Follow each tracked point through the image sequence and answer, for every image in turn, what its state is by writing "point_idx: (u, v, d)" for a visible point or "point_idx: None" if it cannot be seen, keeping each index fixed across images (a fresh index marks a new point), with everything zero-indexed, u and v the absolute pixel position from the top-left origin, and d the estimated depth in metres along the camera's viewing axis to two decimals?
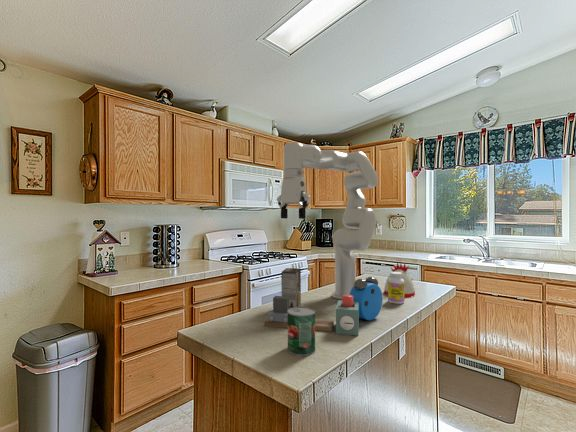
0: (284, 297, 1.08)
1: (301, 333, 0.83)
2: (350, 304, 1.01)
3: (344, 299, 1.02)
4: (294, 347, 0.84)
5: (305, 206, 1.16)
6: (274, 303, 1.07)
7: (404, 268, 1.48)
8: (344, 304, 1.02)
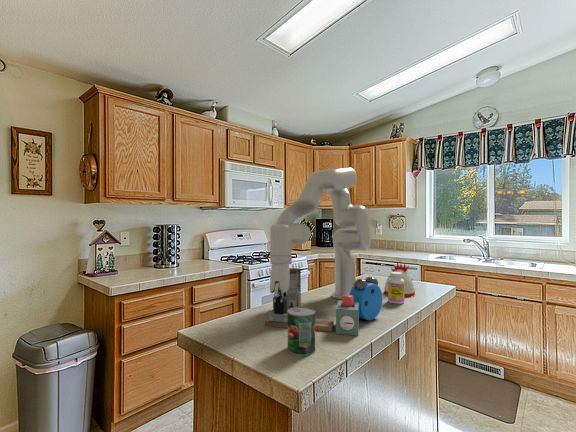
0: (284, 297, 1.08)
1: (301, 333, 0.83)
2: (350, 304, 1.01)
3: (344, 299, 1.02)
4: (294, 347, 0.84)
5: None
6: None
7: (404, 268, 1.48)
8: (344, 304, 1.02)
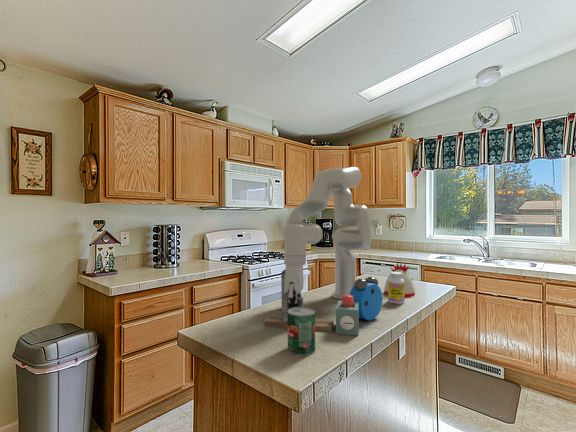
0: (298, 298, 1.07)
1: (301, 333, 0.83)
2: (350, 304, 1.01)
3: (344, 299, 1.02)
4: (294, 347, 0.84)
5: None
6: (288, 304, 1.06)
7: (404, 268, 1.48)
8: (344, 304, 1.02)
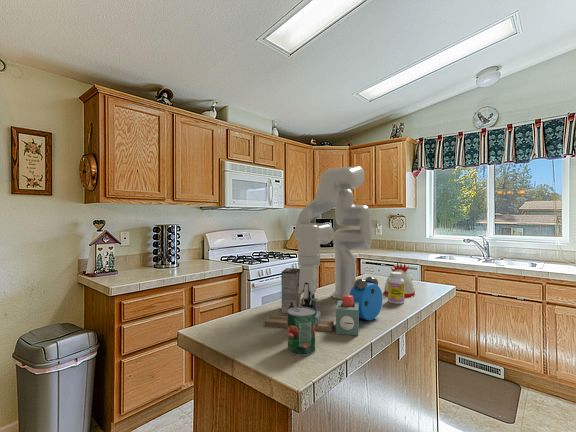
0: (312, 299, 1.06)
1: (301, 333, 0.83)
2: (350, 304, 1.01)
3: (344, 299, 1.02)
4: (294, 347, 0.84)
5: None
6: (302, 305, 1.05)
7: (404, 268, 1.48)
8: (344, 304, 1.02)
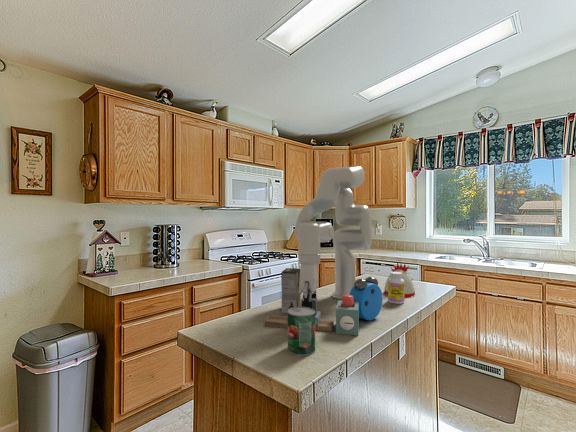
0: (312, 299, 1.06)
1: (301, 333, 0.83)
2: (350, 304, 1.01)
3: (344, 299, 1.02)
4: (294, 347, 0.84)
5: None
6: None
7: (404, 268, 1.48)
8: (344, 304, 1.02)
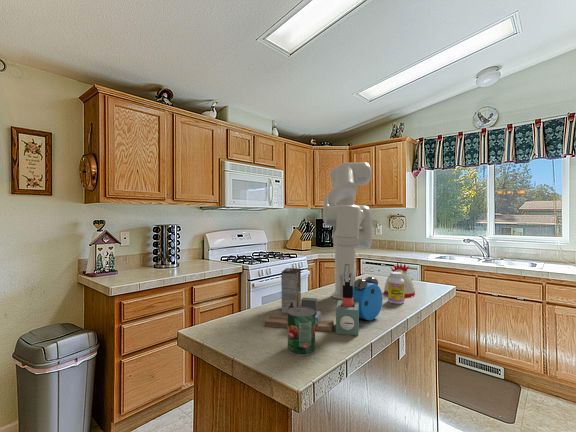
0: (312, 299, 1.06)
1: (301, 333, 0.83)
2: (350, 305, 1.01)
3: (344, 300, 1.02)
4: (294, 347, 0.84)
5: None
6: (302, 305, 1.05)
7: (404, 268, 1.48)
8: (344, 305, 1.02)
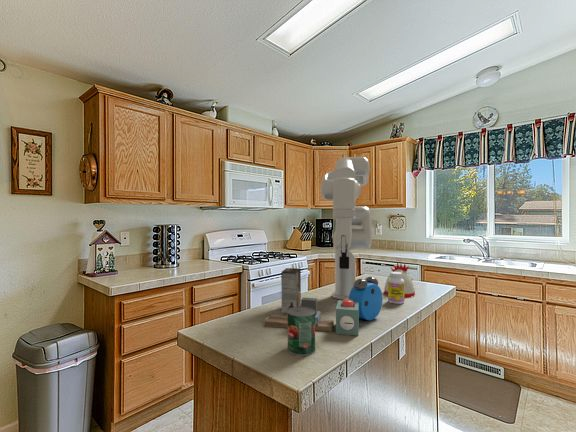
0: (312, 299, 1.06)
1: (301, 333, 0.83)
2: None
3: (344, 304, 1.02)
4: (294, 347, 0.84)
5: None
6: (302, 305, 1.05)
7: (404, 268, 1.48)
8: None
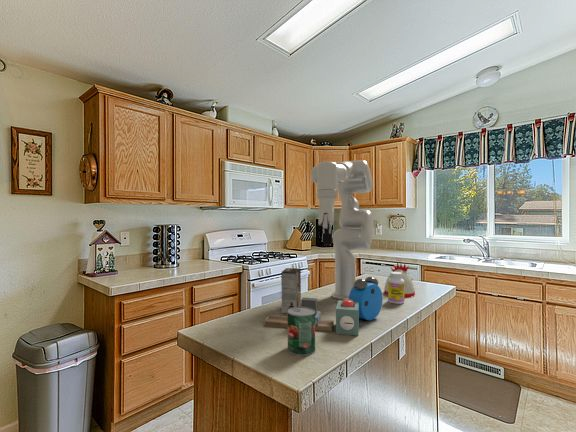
0: (312, 299, 1.06)
1: (301, 333, 0.83)
2: None
3: (344, 304, 1.02)
4: (294, 347, 0.84)
5: None
6: (302, 305, 1.05)
7: (404, 268, 1.48)
8: None
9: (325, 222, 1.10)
